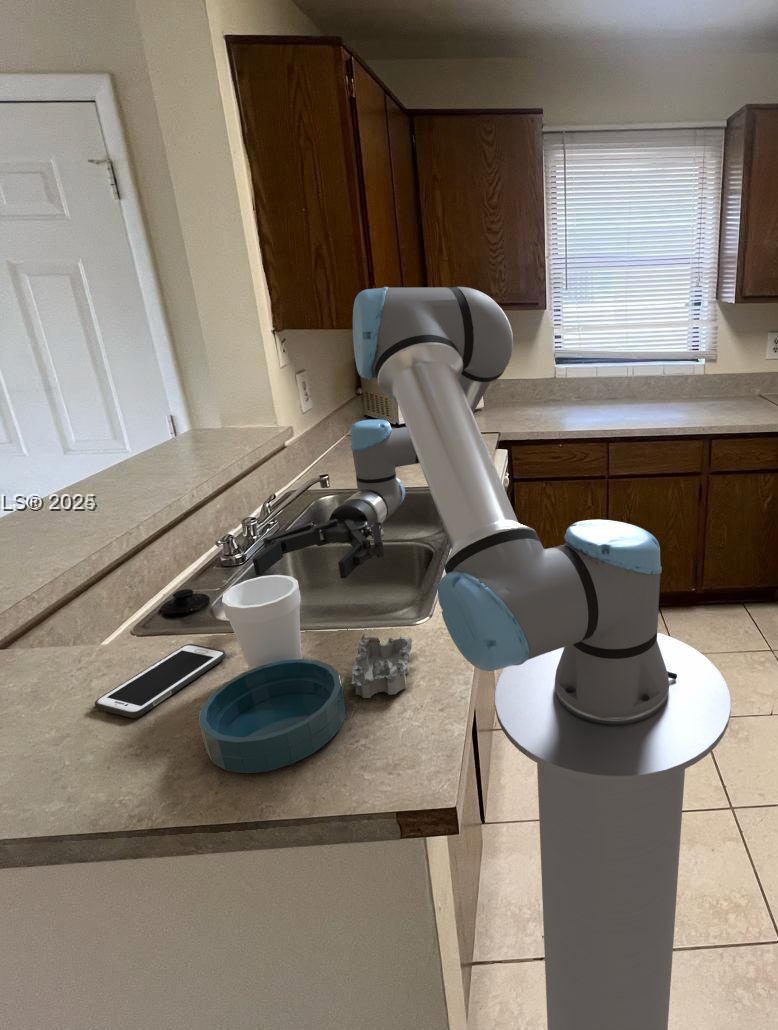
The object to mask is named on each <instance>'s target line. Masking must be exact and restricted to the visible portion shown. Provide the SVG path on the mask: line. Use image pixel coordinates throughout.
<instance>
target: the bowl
mask: <svg viewBox="0 0 778 1030" xmlns="http://www.w3.org/2000/svg"><path fill="white" fill-rule="evenodd" d="M340 675H341V674H340V673H339V672H338V671H337V670H336V669H335V668H334V667H333V665H330V664H328V663H325V662H323V661H320V660H317V659H316V660H315V659H308V658H307V659H306V658H301V659H294V660H283V661H278V662H274V663H270V664H266V665H261V666H259V667H256V668H254V669H251V670H250V669H249V670H246V671H244V672H242V673H240V674H237V675H236V676H234V677H232V678H231V679H229V680H228V681H226V682H224V683H223V684H222V685H220V686H219V687H218V688H217V689H216V690H215V691H214V692H212V693H211V694H210V695H209V696H208V698H207V699H206V700H205V702H204V704H203V705H202V707H201V708H200V710H199V716H198V717H199V719H198V726H199V728H200V731H201V736H202V740H203V743H204V747H205V751H206V753H207V755H208V757H209V759H210V761H211V762H212V764H214V765H215V766H217V767H219V768H220V769H223V770H224V771H227V772H233V773H240V774H253V773H254V774H255V773H263V772H270V771H273V770H277V769H280V768H281V769H282V768H284V767H287V766H290V765H292V764H294V763H297V762H299V761H301V760H304V759H305V758H307V757H308V756H310V755H313V754H315V753H316V752H317V751H319V750H320V749H321V748H323V747H324V746H325V745H327V743H328V742H330V741H331V740H332V739H333V738H334V737H335V735H336V734H337V733H338V732H339V730H340V729H341V727H342V726H343V724H344V721H345V718H346V714H347V710H346V709H347V708H346V703H345V698H344V693H343V685H342V680H341V676H340Z"/></svg>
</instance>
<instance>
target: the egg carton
mask: <svg viewBox="0 0 778 1030" xmlns="http://www.w3.org/2000/svg"><path fill="white" fill-rule="evenodd" d="M412 643H413V639H412V637H403V636H400V637H399V638H393V637H389V638H388V641H385V642H381V640H380V638H379V637H377V636H366V634H362V635H361V637H360V640H359V642H358V645H357V646H358V647H357V652H356V655H355V657H354V662H353V666H352V668H351V685H352V686H353V685H354V687H355V695H358V696H360V697H362V698H363V699H371V698H372V696H374V695H375V694H378V693H382V692H384V693H386V694H387V695H389V696H390V695H397V693H398V692H401V691H402V690H406V689H407V686H408V683H407V676H406V675H408V674H409V671H410V670H409V669H410V668H409V661H410V660H411V650H412Z"/></svg>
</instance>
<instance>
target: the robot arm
mask: <svg viewBox="0 0 778 1030" xmlns="http://www.w3.org/2000/svg"><path fill="white" fill-rule="evenodd" d="M353 302H354V303H353V308H352V309H353V310H352V340H353V353H354V360H355V365H356V370H357V373H358V375H359V376H360V377H361V378H362V379H367V380H369V381H370V380H373V379H374V378H375V379H376V382H377V384H378V387H379V389H380V391H381V393H382V394H383V395H385V396H386V397H387V398H389V399H390V400H393V401H396V403H397V406H398V408H399V410H400V413H401V415H402V419H403V421H404V424H405V426H404V427H395V428H392V427H391V424H390V422H389V421H388V420H385V419H378V418H377V419H364V420H360V421H355V422H354V423H353V424H352V425H351V426H350V429H349V431H350V443H351V445H350V450H351V453H352V459H353V465H354V470H355V480H356V489H357V491H356V492H355V493H354V494H353V495H351V496H350V497H348V498H346V499H345V500H344V502H342V503H341V504H340V505H338V506H337V507H336V508H334V510H333V511H332V512H331V514H330V516H329V519H328V520H327V521H324V522H322V523H320V524H316V523H315V520H314V519H309V520H307V521H305V522H303V523H301V524H300V525H297V526H294V527H291V528H288V529H285V530H282V531H281V532H277V533H275V534H272V535H269V536H266V537H265V538H263V539H262V542H263V547H264V549H263V550H261V551H260V553H258V554H257V555H256V556H255V557H254V558H252V565H253V569H254V574H255V576H262V575H263V574H264V573H266V572H267V571H268V570H269V569H270V568H272V567H273V566H275V564H277V563H278V562H279V561H281V559H283V558H284V555H285V554H289V553H292V552H295V551H299V550H302V549H305V548H309V547H312V546H317V547H321V546H322V547H323V546H326V545H329V544H346V543H347V544H348V545H350V546H351V547H352V548H351V549H350V550H349V551H348V552H347V553H346V554H345V555H344V556H343V557H342V558H340V560H339V561H337V563H338V570H339V577H340V579H347V578H348V577H349V575H350V574H352V572H353V571H354V570H356V569H357V568H358V566H361V565H364V563H366V561H367V560H369V559H372V558H373V557H375V556H376V558H379V559H380V558H384V557H385V550H384V542H383V538H384V527H383V523H384V522H385V521H386V520H387V519H388V518H389V517H390V516H391V515H393V514H394V513H395V512H397V510H398V509H399V508H400V506H401V505H402V503H403V502H404V499H405V497H406V488H405V486H404V485H403V483H402V480H400V479H399V478H398V477H397V472H396V468H399V467H404V466H405V467H406V466H412V465H420V467H421V470H422V473H423V476H424V479H425V482H426V484H427V487H428V489H429V492H430V495H431V498H432V500H433V503H434V506H435V508H436V511H437V514H438V517H439V519H440V523H441V525H442V528H443V531H444V533H445V536H446V538H447V541H448V544H449V547H450V549H451V550H450V552H449V554H448V556H447V558H446V559H445V561H444V565H443V567H444V571H445V572H444V573H445V575H444V576H442V577H441V578H440V580H439V581H438V586H437V599H438V604H439V606H440V609H441V610H442V611H441V616H442V620H443V622H444V624H445V626H446V629H447V632H448V634H449V636H450V638H451V639H452V642H453V643H454V645H455V647H456V648H457V650H458V651H459V653H460V654H461V655H462V656H463V658H464V659H465V660H466V661H467V662H469V663H470V664H471V665H472V666H473V667H474V668H476V669H478V670H480V671H484V672H493V671H498V670H501V669H504V668H505V667H508V666H512V665H521V664H523V663H524V662H526V661H527V660H529V659H531V658H534V657H537V656H540V655H542V654H545V653H548V652H551V651H554V650H557V649H560V648H563V647H564V650H563V652H562V655H561V658H560V661H559V664H558V666H557V670H556V675H555V693H556V697H557V699H558V701H559V703H560V704H561V705H562V707H563V708H564V709H565V710H567V711H568V712H569V713H570V714H572V715H574V716H575V717H577V718H579V719H581V720H584V721H586V722H590V723H593V724H598V725H605V726H623V725H630V724H635V723H638V722H641V721H644V720H646V719H649V718H650V717H652V716H654V715H655V714H657V713H658V712H659V711H660V710H661V709H662V708H663V707H664V705H665V704H666V702H667V699H668V695H669V678H672V679H677V674H675V673H672V672H669V671H667V669H666V666H665V663H664V660H663V657H662V653H661V650H660V647H659V644H658V641H657V633H658V629H659V628H658V627H659V605H660V603H659V602H660V590H661V589H660V587H661V574H662V571H663V570H662V569H663V567H662V566H661V547H660V543H659V541H658V539H657V538H656V537H655V536H654V534H652V533H650V532H649V531H647V530H646V529H644V528H641V527H639V526H637V525H634V524H631V523H627V522H622V521H617V520H611V519H610V520H609V519H588V520H581V521H577V522H574V523H572V524H571V525H569V526H568V528H567V529H566V530H565V531H566V532H565V534H564V541H565V543H564V544H561V545H557V546H554V547H549V548H544V547H543V545H542V543H541V540H540V538H539V536H538V533H537V531H536V530H535V529H534V528H533V527H530V526H527V525H523V524H521V523H520V522H519V521H518V519H517V516H516V513H515V511H514V509H513V506H512V504H511V501H510V499H509V496H508V494H507V492H506V489H505V487H504V485H503V483H502V480H501V477H500V475H499V473H498V471H497V468H496V466H495V464H494V460H493V458H492V457H491V454H490V452H489V449H488V447H487V444H486V442H485V439H484V437H483V435H482V432H481V430H480V428H479V425H478V423H477V421H476V418H475V416H474V413H475V411H476V409H477V407H478V406H479V403H480V402H481V401H482V398H483V397H484V395H485V393H486V391H487V389H488V388H489V386H490V384H491V383H492V382H495V381H497V380H498V379H499V378H501V376H502V375H503V374H504V372H505V370H506V369H507V367H508V365H509V364H510V361H511V358H512V355H513V349H514V335H513V334H514V333H513V330H512V326H511V324H510V321H509V319H508V317H507V315H506V313H505V312H504V309H502V307H501V306H500V305H499V304H498V303H497V302H496V301H495V300H494V299H493V298H491V297H490V296H489V295H487V294H486V293H484V292H482V291H480V290H478V289H474V288H471V287H466V286H452V287H447V286H446V287H445V286H444V287H443V286H441V287H440V286H439V287H438V286H437V287H436V286H435V287H388V286H384V287H379V288H378V287H377V288H367V289H364V290H361V291H359V292H358V294H356V297H355V299H354V301H353ZM321 536H322V539H321ZM369 536H370V537H371V539H372V540H373V544H371V539H370V538H369ZM668 677H669V678H668Z"/></svg>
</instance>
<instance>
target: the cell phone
mask: <svg viewBox="0 0 778 1030" xmlns="http://www.w3.org/2000/svg"><path fill="white" fill-rule="evenodd" d="M226 657H227V654H226V651H225V650H222V649H218V648H214V647H210V646H209V647H208V646H204V645H199V644H195V643H188V644H184V645H183V646H181V647H179V648H177V649H176V650H174V651H172V652H171V653H169V654H168V655H166V656H164V657H163V658H161V659H159V660H157V661H156V662H155V663H153V664H151V665H150V666H148V667H147V668H145V669H143V670H142V671H140V672H138V673H136V674H135V675H133V676H132V677H130V678H128V680H127V679H126V681H123V682H122V683H120V684H119V685H117V686H115V687H114V688H112V689H111V690H110V691H107V692H106V693H105V694H103V695H101V696H100V697H98V698H97V699H96V700H95V701H94V706H95V708H96V709H97V710H100V711H103V712H108V713H111V714H115V715H119V716H123V717H126V718H131V719H135V718H139V717H141V716H143V715H144V714H146V713H147V712H149V711H150V710H152V709H153V708H155V707H156V706H157V705H158V704H160V703H161V702H163V701H165V700H166V699H167V698H169V697H170V696H172V695H174V694H175V693H176V692H179V691H180V690H181V689H182V688H185V686H187V685H188V684H190V683H191V682H193V681H194V680H195V679H197V678H199V677H200V676H201V675H203V674H205V673H206V672H207V671H209V670H210V669H212V668H213V667H215V666H216V665H218V664H219V663H220V662H222V661H224V659H225V658H226Z"/></svg>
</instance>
